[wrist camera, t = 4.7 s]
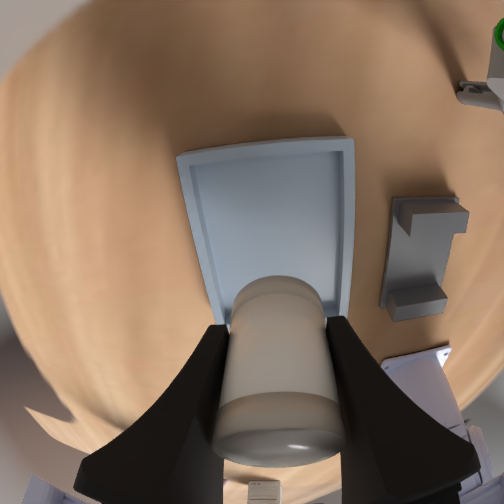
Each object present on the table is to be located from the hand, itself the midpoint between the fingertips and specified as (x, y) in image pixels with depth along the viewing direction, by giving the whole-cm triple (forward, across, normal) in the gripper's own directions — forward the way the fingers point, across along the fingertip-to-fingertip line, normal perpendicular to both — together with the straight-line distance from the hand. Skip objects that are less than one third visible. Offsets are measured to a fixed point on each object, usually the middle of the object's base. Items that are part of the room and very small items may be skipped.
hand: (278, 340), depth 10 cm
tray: (+8, 0, 0) cm, 8 cm away
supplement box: (+8, +6, +63) cm, 64 cm away
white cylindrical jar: (+2, 0, 0) cm, 2 cm away
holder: (+8, -10, +2) cm, 13 cm away
